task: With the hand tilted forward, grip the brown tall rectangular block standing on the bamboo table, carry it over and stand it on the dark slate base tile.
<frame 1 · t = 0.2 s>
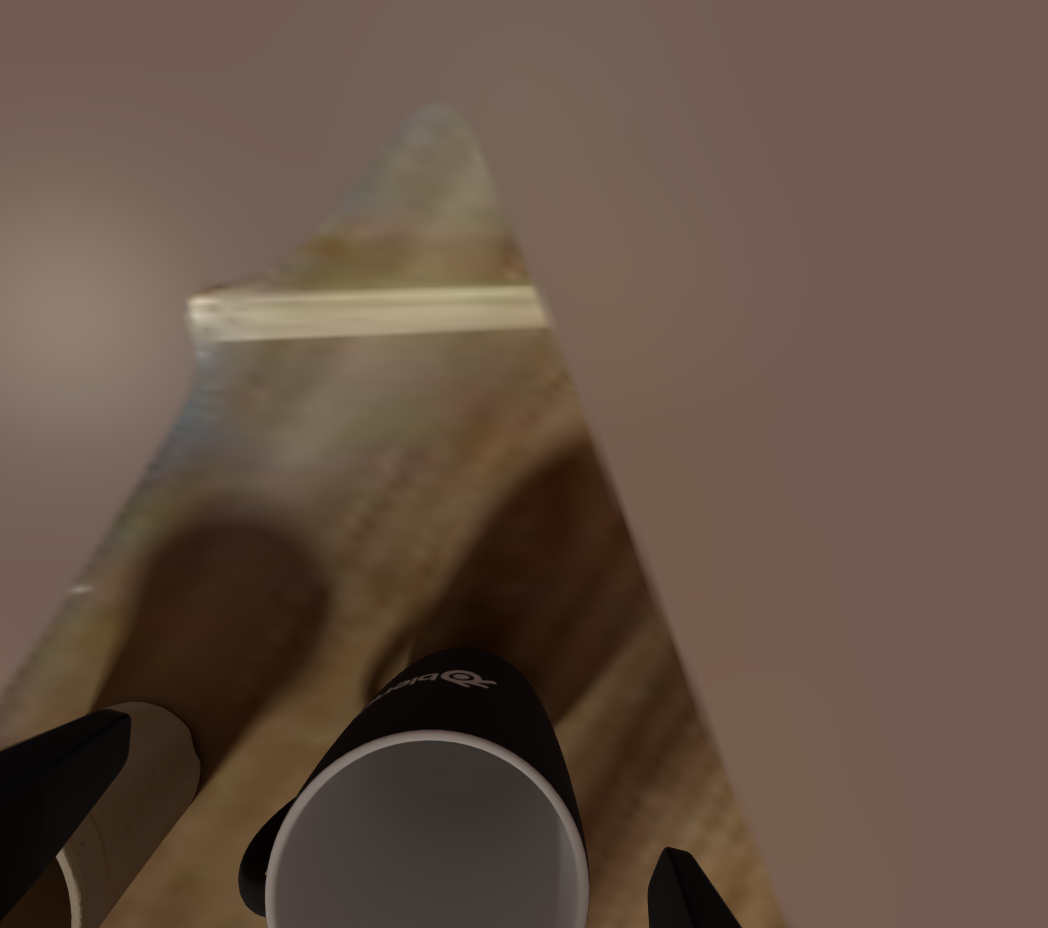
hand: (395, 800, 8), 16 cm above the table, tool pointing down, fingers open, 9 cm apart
flower pot: (139, 761, 24), on the table
mug: (434, 724, 24), on the table
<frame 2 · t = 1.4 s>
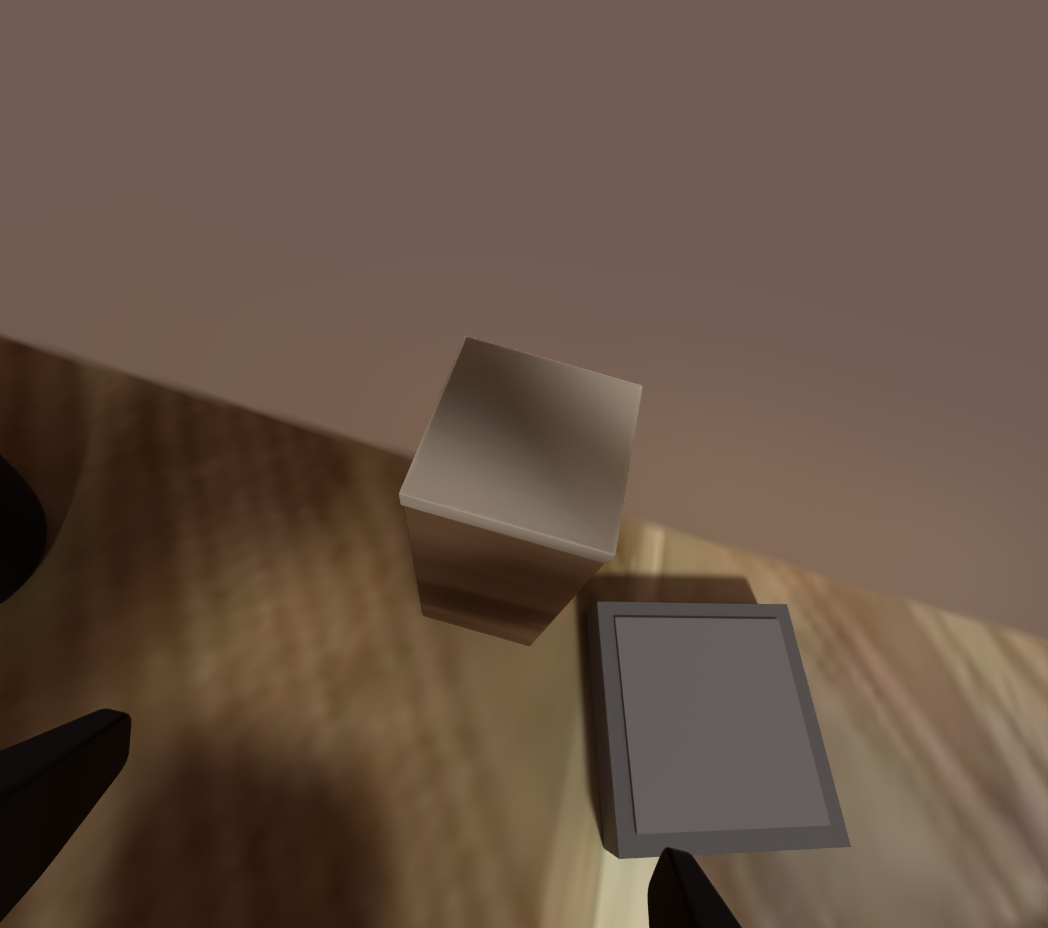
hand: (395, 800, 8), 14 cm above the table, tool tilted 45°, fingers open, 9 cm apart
brown tall rectangular block: (491, 578, 24), on the table
slate base: (693, 716, 22), on the table
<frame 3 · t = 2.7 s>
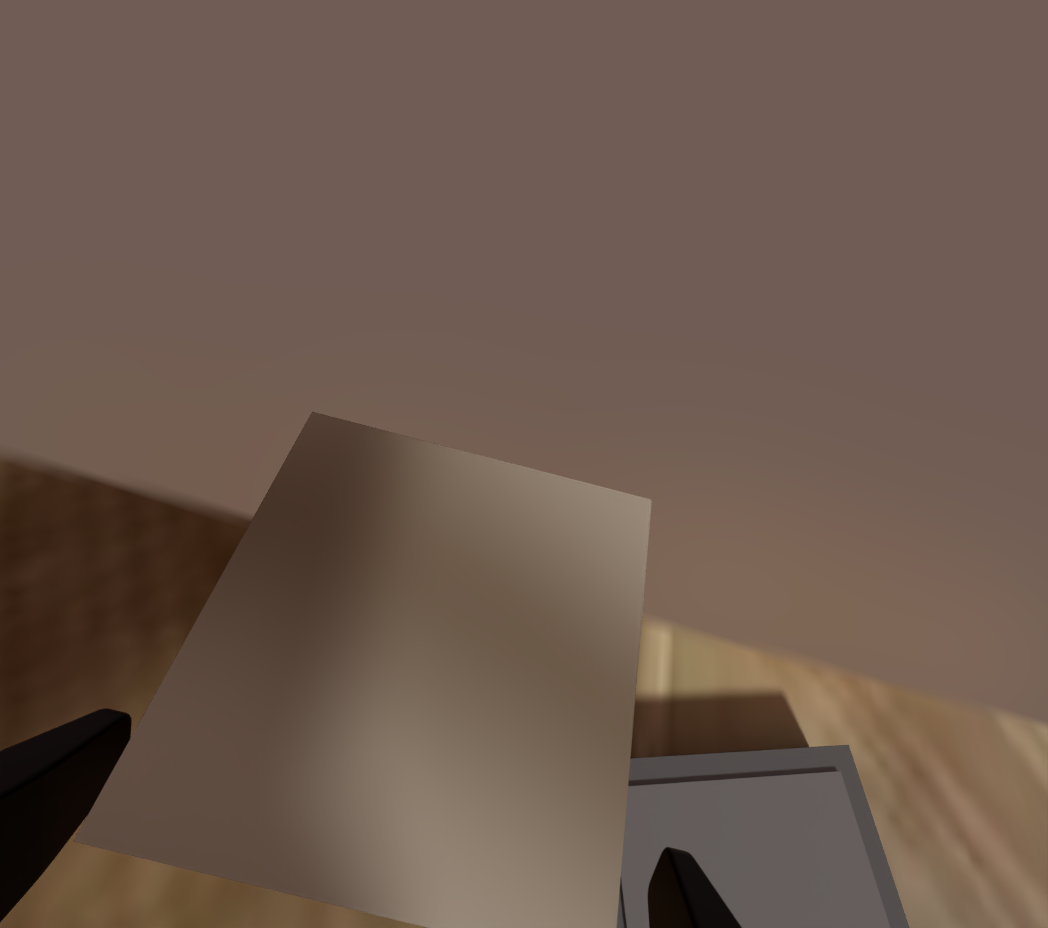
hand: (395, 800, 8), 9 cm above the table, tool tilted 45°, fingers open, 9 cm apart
brown tall rectangular block: (434, 718, 17), on the table
slate base: (727, 924, 15), on the table
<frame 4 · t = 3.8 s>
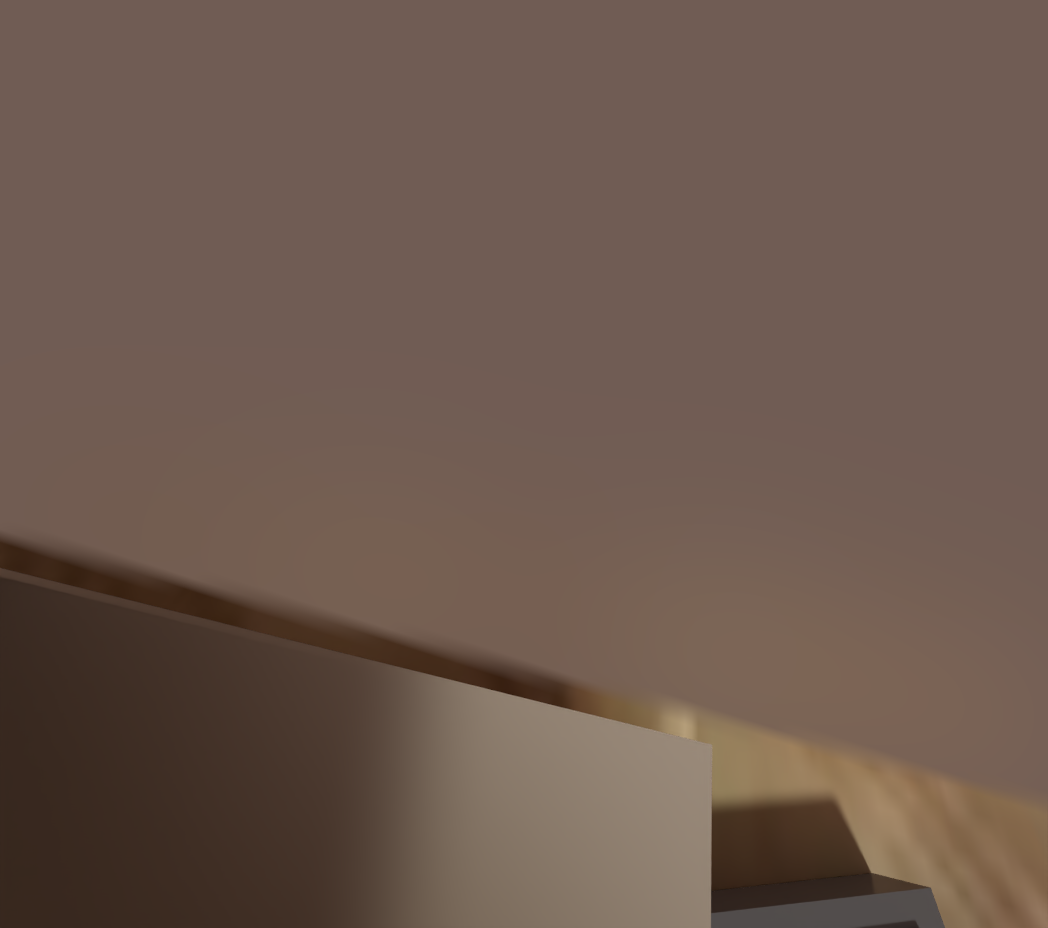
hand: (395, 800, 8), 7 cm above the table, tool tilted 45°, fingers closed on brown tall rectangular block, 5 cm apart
brown tall rectangular block: (394, 849, 13), on the table, touching gripper
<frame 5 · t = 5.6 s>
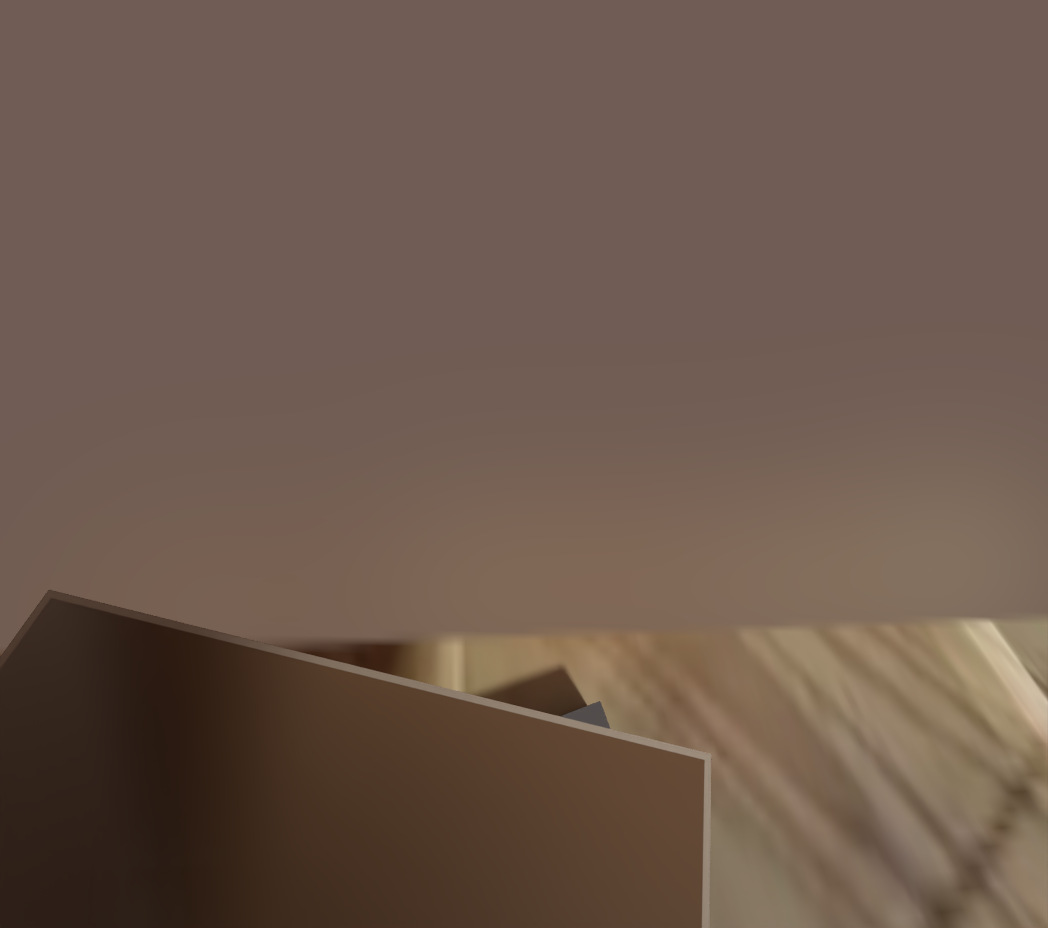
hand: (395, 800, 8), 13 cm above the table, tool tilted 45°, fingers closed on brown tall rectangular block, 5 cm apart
brown tall rectangular block: (396, 841, 14), point 6 cm above the table, touching gripper
slate base: (523, 875, 19), on the table
when the fingers open (10 cm above the table, at t = 7.1 s): brown tall rectangular block stays where it is, resting on slate base.
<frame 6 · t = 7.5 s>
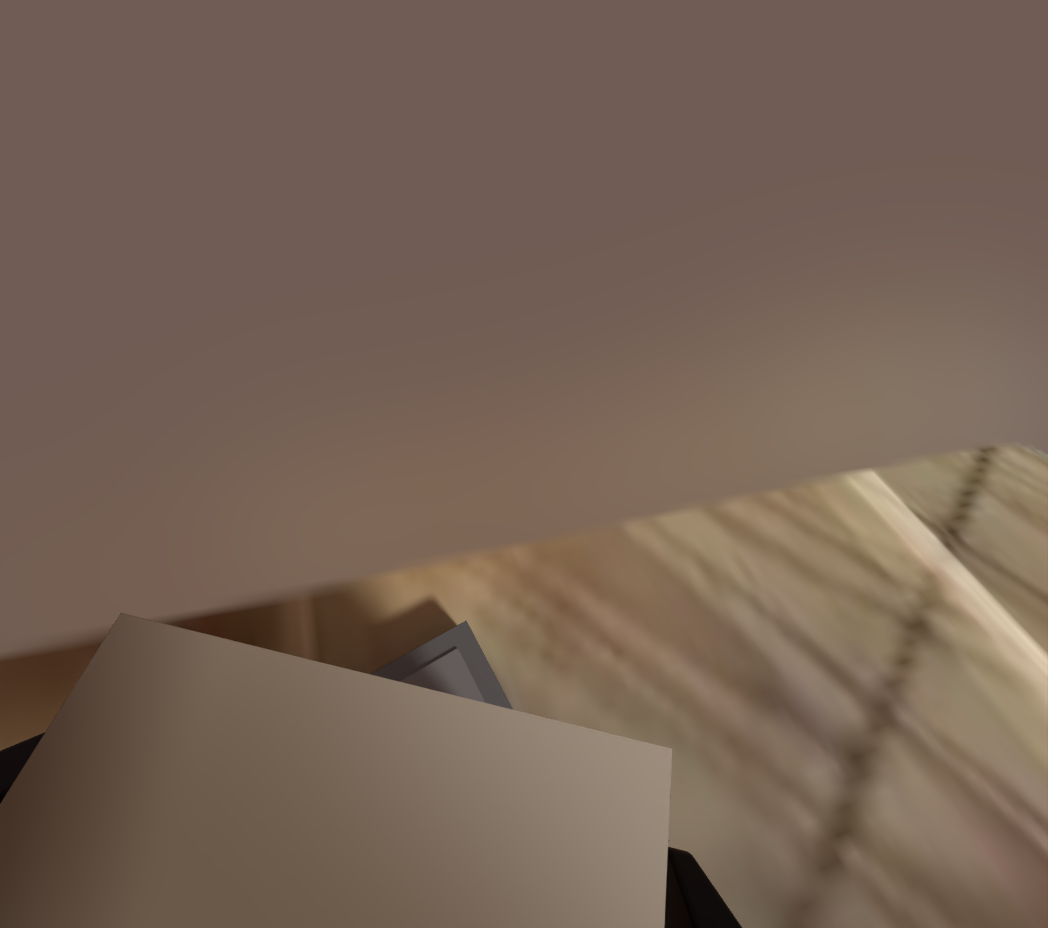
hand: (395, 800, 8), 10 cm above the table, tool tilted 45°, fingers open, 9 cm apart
brown tall rectangular block: (399, 838, 14), point 2 cm above the table, touching slate base
slate base: (403, 830, 16), on the table
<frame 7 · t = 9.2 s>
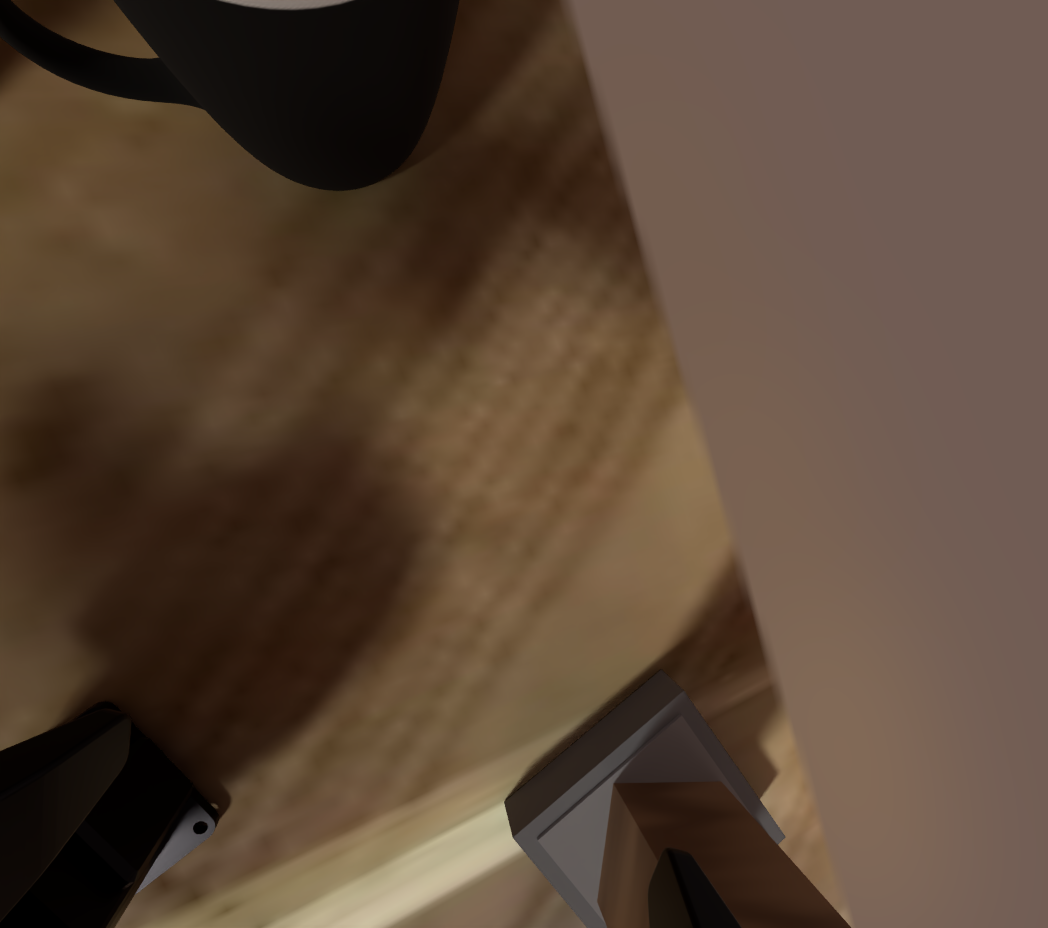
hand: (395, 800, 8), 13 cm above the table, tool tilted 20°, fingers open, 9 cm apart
brown tall rectangular block: (660, 840, 21), point 2 cm above the table, touching slate base
mug: (289, 115, 19), on the table
slate base: (637, 803, 23), on the table
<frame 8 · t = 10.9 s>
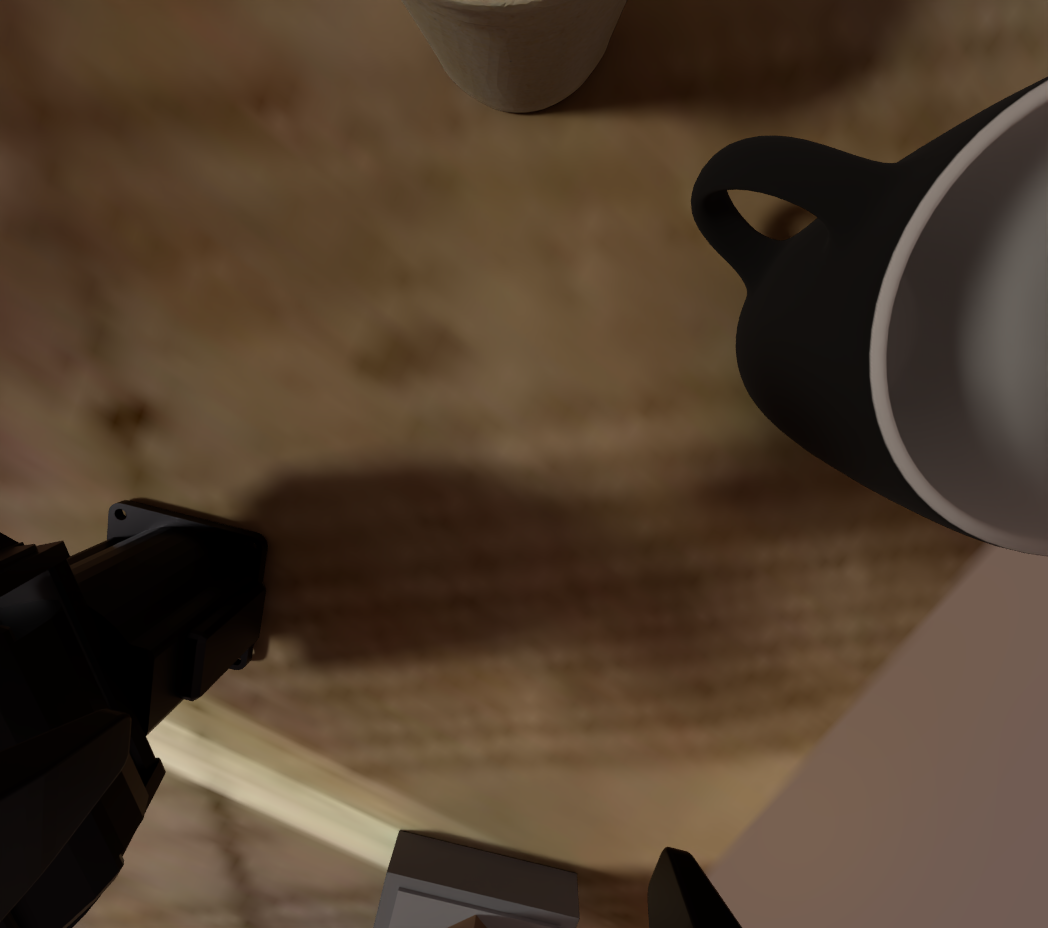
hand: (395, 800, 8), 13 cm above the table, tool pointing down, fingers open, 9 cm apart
flower pot: (522, 12, 17), on the table
mug: (788, 313, 19), on the table
slate base: (468, 919, 26), on the table
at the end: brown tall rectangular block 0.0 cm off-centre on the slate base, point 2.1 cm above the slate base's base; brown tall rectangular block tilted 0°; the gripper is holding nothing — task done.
